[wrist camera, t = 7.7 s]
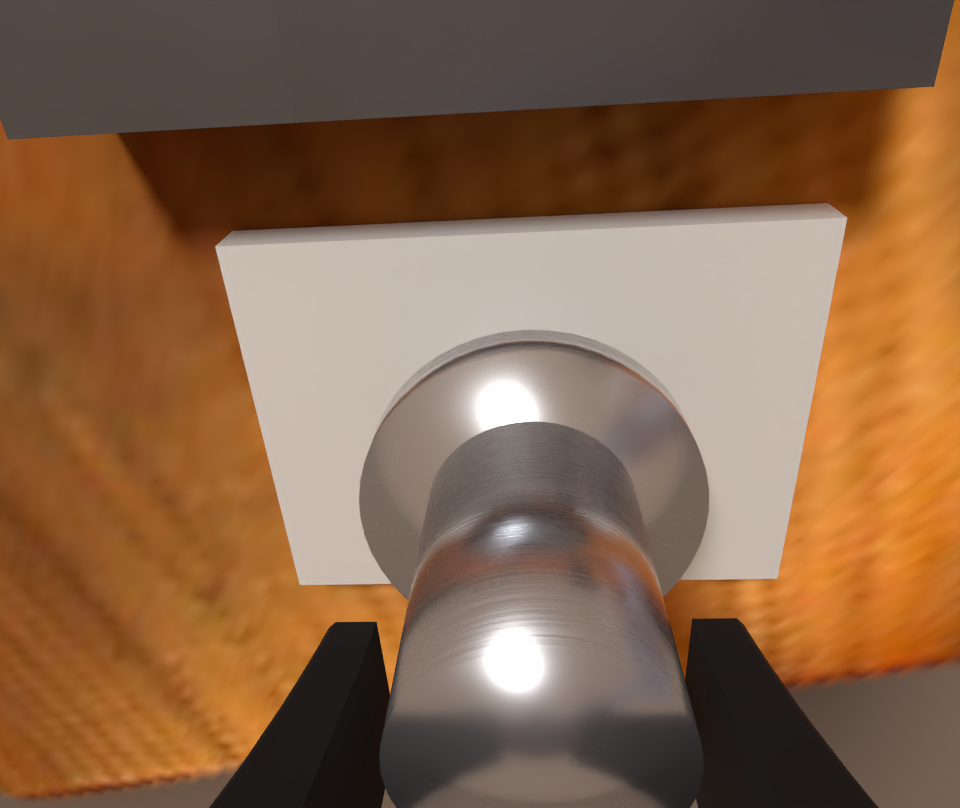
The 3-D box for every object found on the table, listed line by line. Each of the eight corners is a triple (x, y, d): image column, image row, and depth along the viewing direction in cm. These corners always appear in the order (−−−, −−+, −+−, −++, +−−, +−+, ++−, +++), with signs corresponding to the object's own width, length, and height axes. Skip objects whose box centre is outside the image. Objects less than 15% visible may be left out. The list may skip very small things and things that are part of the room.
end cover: (676, 276, 14) (860, 547, 7) (663, 528, 17) (783, 931, 9) (374, 290, 15) (219, 562, 7) (406, 534, 17) (318, 925, 10)
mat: (828, 202, 14) (847, 217, 14) (765, 551, 19) (777, 578, 18) (232, 231, 15) (215, 246, 14) (309, 558, 20) (299, 585, 19)
